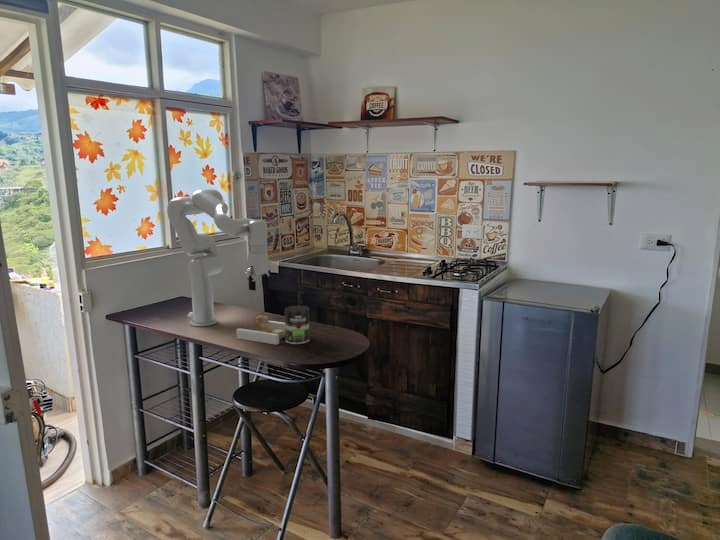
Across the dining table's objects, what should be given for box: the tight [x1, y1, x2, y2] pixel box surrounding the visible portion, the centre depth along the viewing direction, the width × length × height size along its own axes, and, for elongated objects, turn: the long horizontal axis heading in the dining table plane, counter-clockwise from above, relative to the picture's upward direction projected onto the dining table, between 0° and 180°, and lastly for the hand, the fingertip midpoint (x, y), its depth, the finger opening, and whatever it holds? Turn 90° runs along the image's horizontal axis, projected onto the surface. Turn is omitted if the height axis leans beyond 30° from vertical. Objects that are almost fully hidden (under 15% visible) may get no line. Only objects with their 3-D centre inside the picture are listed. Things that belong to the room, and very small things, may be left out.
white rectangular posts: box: [235, 320, 285, 346], centre depth 217 cm, size 20×17×4 cm
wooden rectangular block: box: [255, 314, 285, 340], centre depth 216 cm, size 12×4×8 cm, turn 68°
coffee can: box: [284, 304, 310, 345], centre depth 210 cm, size 10×10×14 cm
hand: (259, 287), depth 216 cm, fingers open, 9 cm apart
